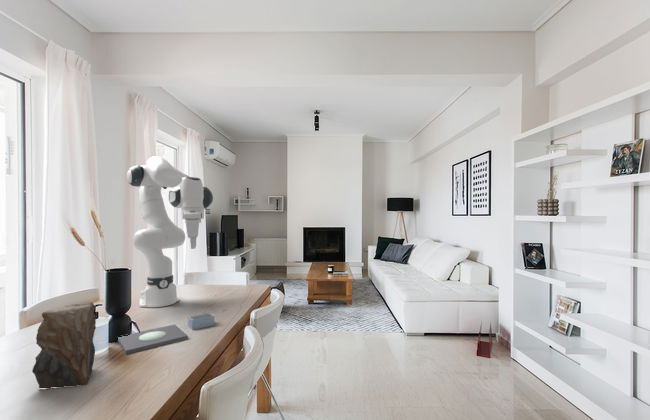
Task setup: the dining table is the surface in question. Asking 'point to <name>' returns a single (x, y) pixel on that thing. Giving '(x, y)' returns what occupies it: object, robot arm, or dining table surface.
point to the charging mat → (151, 338)
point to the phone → (200, 321)
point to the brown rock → (65, 346)
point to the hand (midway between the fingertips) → (193, 247)
